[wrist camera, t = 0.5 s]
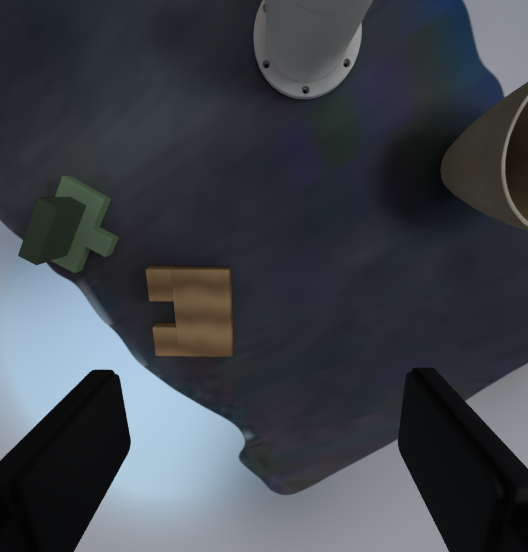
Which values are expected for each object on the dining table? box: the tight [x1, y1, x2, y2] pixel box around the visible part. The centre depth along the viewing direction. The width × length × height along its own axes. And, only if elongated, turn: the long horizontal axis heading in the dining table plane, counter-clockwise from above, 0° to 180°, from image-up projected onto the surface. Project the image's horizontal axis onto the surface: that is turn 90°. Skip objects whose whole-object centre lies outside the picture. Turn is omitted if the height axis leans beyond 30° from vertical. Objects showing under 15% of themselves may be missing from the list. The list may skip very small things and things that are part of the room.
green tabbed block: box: [18, 176, 119, 273], centre depth 39 cm, size 12×9×8 cm
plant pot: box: [440, 82, 528, 231], centre depth 31 cm, size 15×15×16 cm
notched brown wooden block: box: [146, 266, 234, 357], centre depth 45 cm, size 14×12×2 cm
